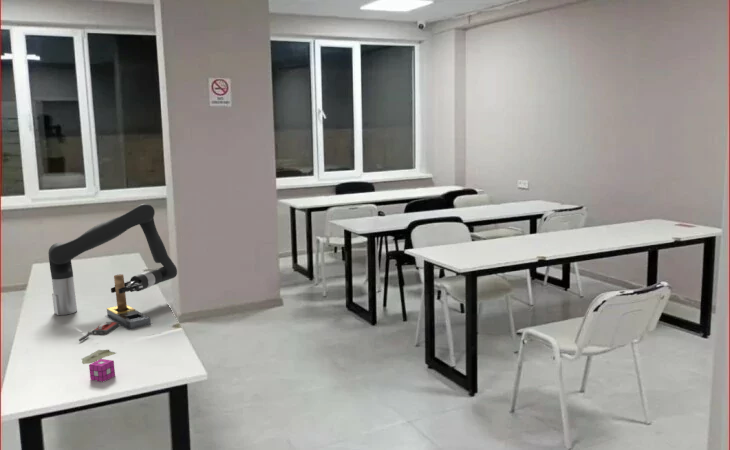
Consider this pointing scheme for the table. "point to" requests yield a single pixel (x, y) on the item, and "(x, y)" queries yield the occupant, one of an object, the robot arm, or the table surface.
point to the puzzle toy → (102, 370)
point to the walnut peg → (121, 297)
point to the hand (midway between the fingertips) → (115, 291)
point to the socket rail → (128, 317)
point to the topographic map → (97, 356)
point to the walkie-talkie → (102, 329)
